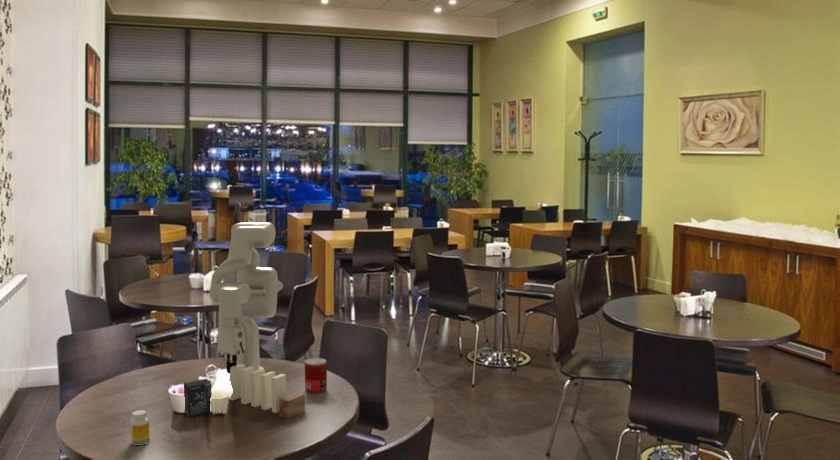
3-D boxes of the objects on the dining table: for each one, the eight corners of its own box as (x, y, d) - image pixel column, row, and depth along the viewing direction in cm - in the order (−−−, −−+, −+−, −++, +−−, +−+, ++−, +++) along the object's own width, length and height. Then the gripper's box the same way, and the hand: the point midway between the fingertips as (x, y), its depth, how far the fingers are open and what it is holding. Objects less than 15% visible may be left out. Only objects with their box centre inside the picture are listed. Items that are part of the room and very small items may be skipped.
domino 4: (261, 408, 262) (260, 374, 260) (271, 404, 266) (271, 371, 264) (265, 410, 261) (264, 375, 259) (276, 405, 265) (275, 372, 263)
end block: (279, 416, 255) (279, 398, 254) (296, 409, 261) (295, 392, 261) (288, 418, 253) (287, 401, 252) (304, 411, 259) (304, 394, 258)
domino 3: (251, 406, 264) (250, 372, 263) (261, 401, 269) (260, 368, 267) (255, 407, 263) (254, 373, 262) (265, 403, 267) (265, 369, 266)
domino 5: (271, 411, 259) (271, 377, 257) (282, 407, 263) (281, 373, 262) (276, 413, 258) (275, 378, 256) (286, 408, 262) (285, 374, 260)
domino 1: (228, 398, 271) (230, 367, 268) (239, 394, 275) (241, 363, 272) (232, 400, 270) (234, 368, 267) (242, 396, 274) (245, 365, 271)
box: (189, 417, 254) (188, 386, 252) (184, 412, 258) (183, 382, 257) (212, 412, 258) (211, 382, 257) (207, 407, 263) (206, 378, 261)
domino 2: (241, 403, 267) (240, 369, 266) (251, 399, 271) (250, 366, 270) (245, 404, 266) (244, 370, 265) (255, 400, 270) (254, 367, 269)
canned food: (325, 393, 278) (324, 363, 276) (303, 393, 278) (302, 363, 276) (328, 386, 285) (327, 357, 284) (307, 386, 285) (306, 357, 284)
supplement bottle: (127, 442, 233) (126, 412, 231) (144, 437, 236) (143, 407, 235) (136, 447, 229) (134, 416, 228) (153, 442, 233) (151, 412, 232)
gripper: (253, 322, 269) (254, 373, 271) (224, 317, 277) (225, 366, 279) (236, 326, 262) (238, 378, 265) (207, 321, 271) (209, 371, 273)
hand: (231, 372), depth 272 cm, fingers closed
